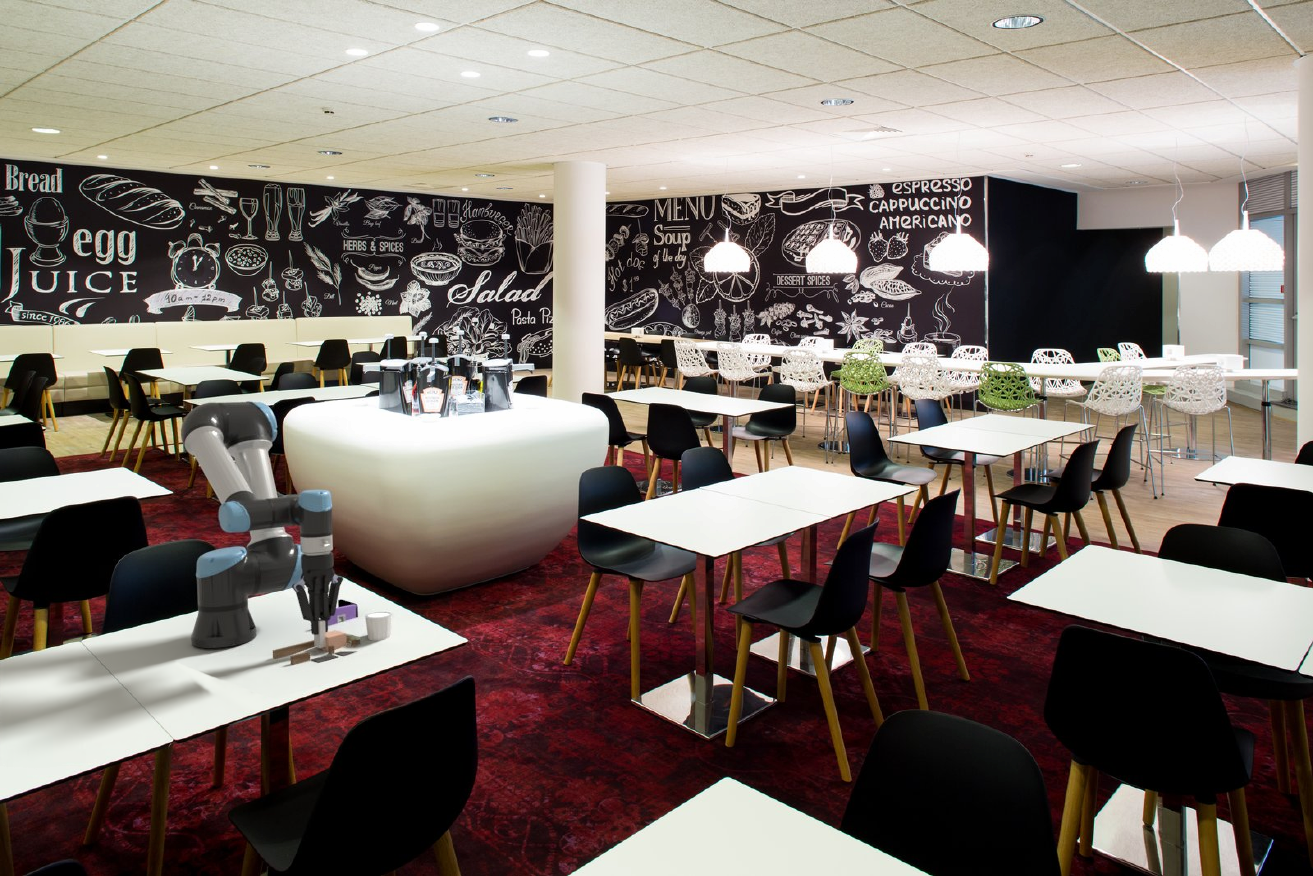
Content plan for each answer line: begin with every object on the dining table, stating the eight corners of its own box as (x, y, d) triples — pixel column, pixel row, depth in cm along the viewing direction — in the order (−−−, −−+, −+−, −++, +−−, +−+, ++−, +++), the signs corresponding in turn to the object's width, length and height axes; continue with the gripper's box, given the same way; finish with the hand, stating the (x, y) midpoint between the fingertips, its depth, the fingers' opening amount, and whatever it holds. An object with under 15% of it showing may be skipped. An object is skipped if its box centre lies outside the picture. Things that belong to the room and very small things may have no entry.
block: (317, 650, 228) (317, 634, 228) (335, 645, 232) (335, 630, 232) (329, 653, 225) (328, 637, 225) (346, 648, 229) (346, 633, 229)
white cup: (385, 645, 231) (384, 618, 231) (360, 644, 233) (359, 617, 232) (398, 638, 238) (397, 612, 238) (374, 637, 239) (373, 611, 239)
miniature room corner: (364, 628, 249) (363, 603, 249) (322, 637, 241) (321, 612, 240) (342, 621, 257) (342, 597, 257) (301, 629, 249) (300, 605, 248)
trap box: (272, 658, 221) (272, 648, 221) (340, 641, 236) (339, 631, 236) (301, 667, 213) (300, 657, 213) (369, 649, 228) (368, 639, 228)
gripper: (301, 558, 218) (304, 655, 219) (349, 550, 228) (351, 642, 229) (284, 554, 222) (287, 650, 223) (331, 547, 232) (334, 638, 234)
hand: (320, 646), depth 226 cm, fingers closed
